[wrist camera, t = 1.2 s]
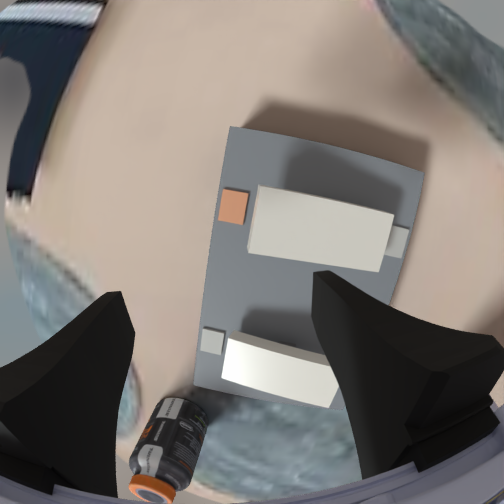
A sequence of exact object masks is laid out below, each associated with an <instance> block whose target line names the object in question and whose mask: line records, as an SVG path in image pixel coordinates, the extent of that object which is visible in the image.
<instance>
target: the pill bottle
mask: <svg viewBox="0 0 504 504" xmlns="http://www.w3.org/2000/svg"><path fill="white" fill-rule="evenodd" d="M207 427H208V419H207V416H206V414H205V413H204V412H203V410H201V409H200V408H199V407H198V406H196V405H195V404H193V403H191V402H189V401H187V400H184V399H180V398H166V399H163V400H161V401H160V402H159V403H158V404H157V405H156V407H155V409H154V411H153V413H152V415H151V417H150V419H149V421H148V423H147V425H146V427H145V429H144V431H143V433H142V435H141V437H140V439H139V441H138V443H137V445H136V447H135V449H134V451H133V453H132V455H131V457H130V459H129V466H130V469H131V470H132V472H133V474H134V476H132V479H131V482H130V484H129V489H130V491H131V492H132V493H134V494H135V495H136V496H137V497H139V498H141V499H143V500H145V501H147V502H153V503H167V504H172V502H173V500H174V497H175V495H176V491H181V490H184V489H186V488H187V487H188V486H189V484H190V482H191V479H192V476H193V473H194V470H195V466H196V463H197V460H198V457H199V454H200V451H201V447H202V444H203V441H204V437H205V434H206V431H207Z"/></svg>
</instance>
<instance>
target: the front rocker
mask: <svg viewBox="0 0 504 504" xmlns="http://www.w3.org/2000/svg"><path fill="white" fill-rule="evenodd" d="M393 218H394V215H393V214H391V213H388V212H385V211H382V210H378V209H374V208H370V207H366V206H361V205H357V204H353V203H349V202H344V201H340V200H335V199H331V198H326V197H321V196H317V195H312V194H307V193H302V192H297V191H292V190H287V189H282V188H276V187H271V186H265V185H260V184H259V185H258V190H257V195H256V201H255V206H254V212H253V217H252V223H251V228H250V234H249V239H248V245H247V249H248V253H252V254H258V255H265V256H272V257H278V258H285V259H292V260H298V261H305V262H312V263H319V264H325V265H332V266H339V267H345V268H352V269H359V270H366V271H372V272H379V270H380V266H381V263H382V259H383V256H384V252H385V249H386V245H387V242H388V238H389V234H390V230H391V226H392V222H393Z"/></svg>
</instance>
